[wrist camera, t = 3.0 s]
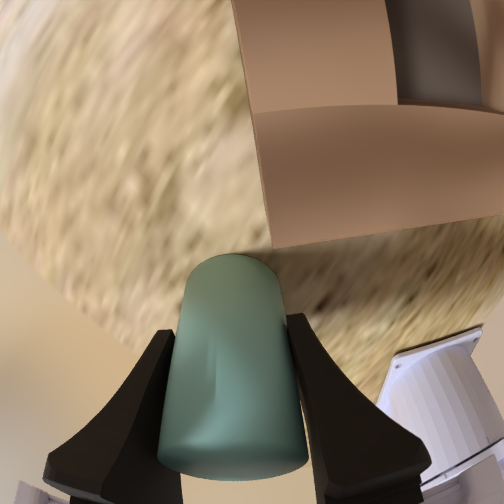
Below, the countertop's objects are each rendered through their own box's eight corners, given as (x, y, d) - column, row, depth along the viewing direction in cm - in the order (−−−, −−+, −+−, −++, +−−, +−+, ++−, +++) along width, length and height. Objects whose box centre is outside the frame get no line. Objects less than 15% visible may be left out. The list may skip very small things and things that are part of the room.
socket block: (515, 183, 11) (551, 207, 8) (265, 208, 12) (273, 248, 9) (492, -52, 4) (528, -58, 1) (210, -105, 4) (203, -142, 2)
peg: (284, 321, 15) (308, 474, 8) (199, 331, 15) (186, 480, 8) (275, 247, 13) (309, 431, 6) (173, 262, 13) (129, 438, 6)
